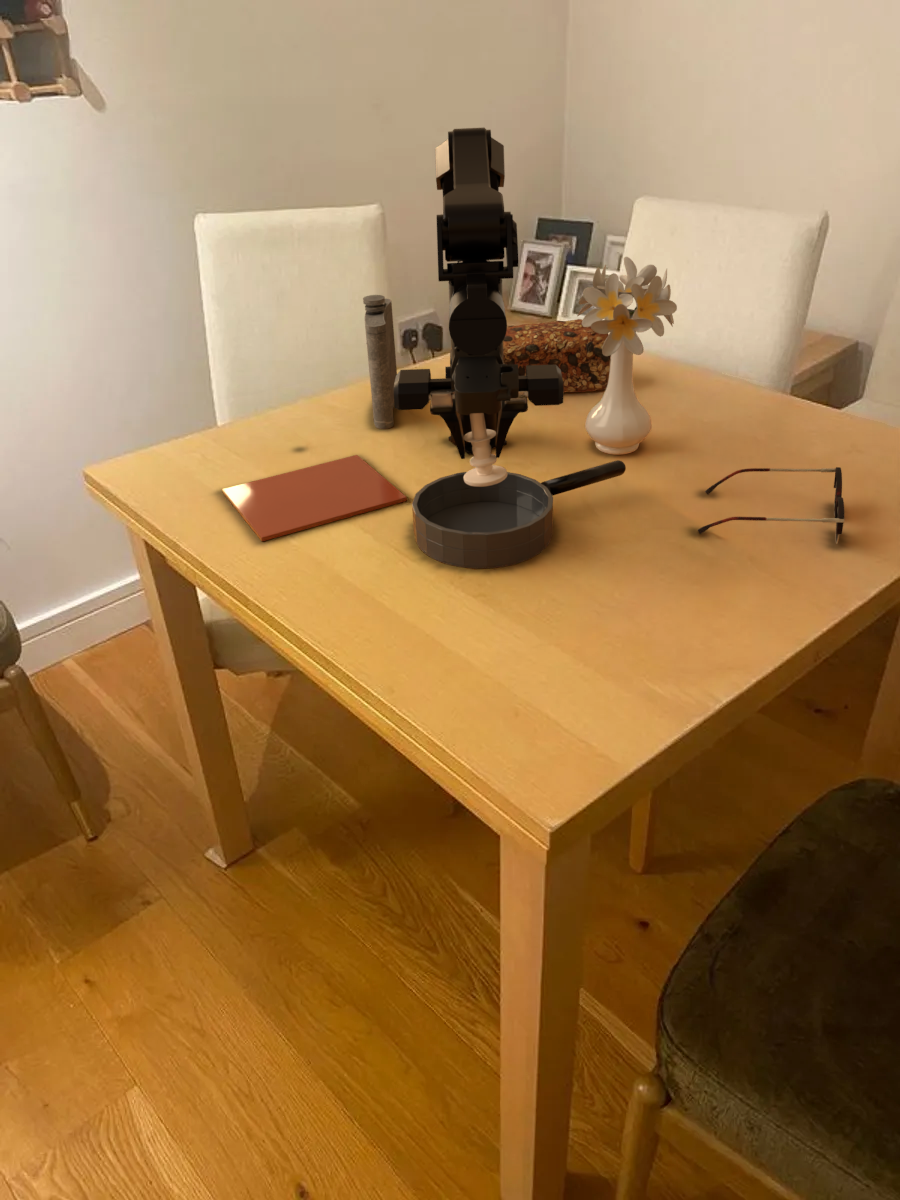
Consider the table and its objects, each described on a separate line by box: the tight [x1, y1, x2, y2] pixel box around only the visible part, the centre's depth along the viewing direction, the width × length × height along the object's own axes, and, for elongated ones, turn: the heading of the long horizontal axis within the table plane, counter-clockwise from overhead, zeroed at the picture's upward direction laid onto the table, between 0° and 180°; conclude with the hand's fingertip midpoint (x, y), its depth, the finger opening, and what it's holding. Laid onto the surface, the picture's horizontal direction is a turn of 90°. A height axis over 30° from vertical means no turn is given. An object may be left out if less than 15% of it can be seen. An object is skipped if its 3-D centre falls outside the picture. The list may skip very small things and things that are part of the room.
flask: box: [362, 294, 398, 430], centre depth 149 cm, size 4×14×18 cm, turn 179°
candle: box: [463, 413, 508, 487], centre depth 113 cm, size 5×5×10 cm
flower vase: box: [576, 256, 678, 455], centre depth 131 cm, size 13×18×25 cm
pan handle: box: [540, 459, 627, 497], centre depth 123 cm, size 13×2×2 cm, turn 119°
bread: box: [503, 318, 611, 393], centre depth 158 cm, size 19×11×10 cm, turn 89°
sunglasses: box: [697, 466, 845, 544], centre depth 118 cm, size 14×16×5 cm
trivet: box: [221, 454, 408, 542], centre depth 129 cm, size 20×16×1 cm
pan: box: [411, 471, 554, 569], centre depth 118 cm, size 17×17×4 cm
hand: (480, 457), depth 113 cm, fingers closed on candle, 4 cm apart
